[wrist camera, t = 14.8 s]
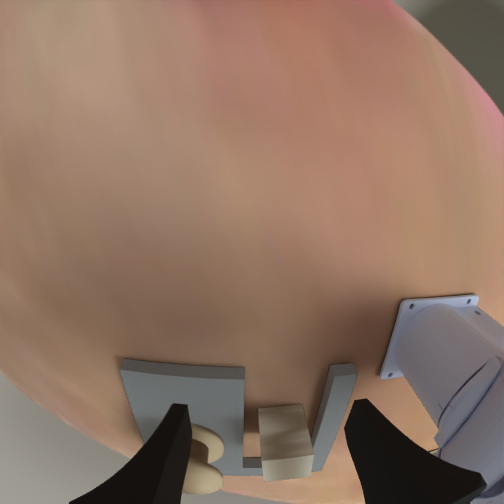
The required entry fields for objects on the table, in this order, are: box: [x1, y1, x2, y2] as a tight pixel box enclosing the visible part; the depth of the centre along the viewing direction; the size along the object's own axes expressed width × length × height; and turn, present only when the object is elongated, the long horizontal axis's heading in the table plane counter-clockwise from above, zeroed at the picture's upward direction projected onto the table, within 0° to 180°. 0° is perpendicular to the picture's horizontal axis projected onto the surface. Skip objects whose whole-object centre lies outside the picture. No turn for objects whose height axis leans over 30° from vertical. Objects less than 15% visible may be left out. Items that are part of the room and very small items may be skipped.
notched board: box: [119, 359, 358, 476], centre depth 23 cm, size 19×16×2 cm
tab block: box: [258, 404, 314, 482], centre depth 21 cm, size 4×4×6 cm
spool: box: [182, 423, 224, 494], centre depth 20 cm, size 6×6×5 cm
